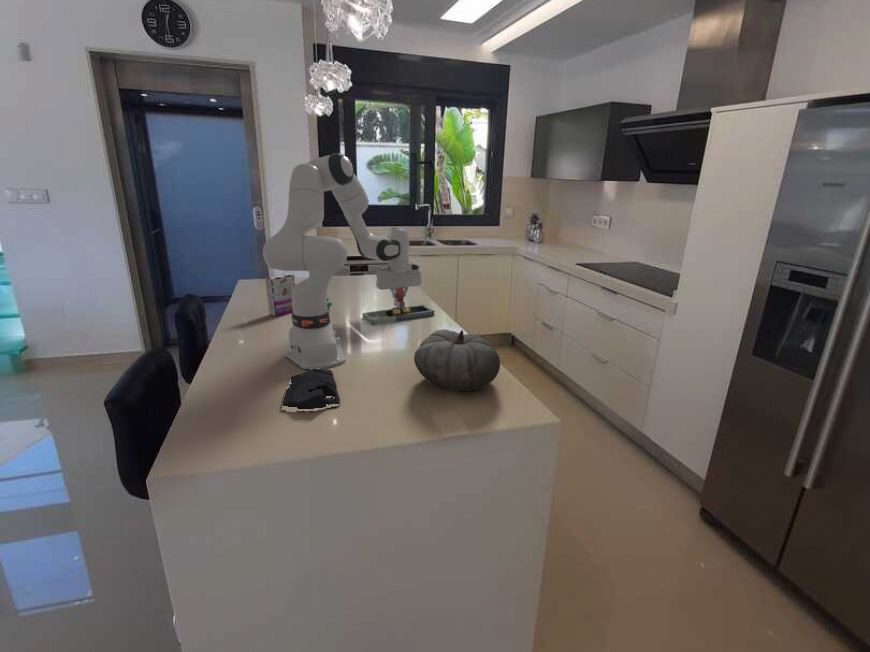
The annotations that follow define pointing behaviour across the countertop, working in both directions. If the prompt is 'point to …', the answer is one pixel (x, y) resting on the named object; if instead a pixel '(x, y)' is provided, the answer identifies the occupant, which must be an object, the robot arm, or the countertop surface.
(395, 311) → the shiny gold ball
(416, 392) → the countertop surface
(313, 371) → the dark slate chunk
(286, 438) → the countertop surface
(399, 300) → the red-brown bar
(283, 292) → the candy bar box
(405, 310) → the yellow-brown round piece
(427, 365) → the gourd
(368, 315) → the tray
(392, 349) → the countertop surface
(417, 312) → the tray
